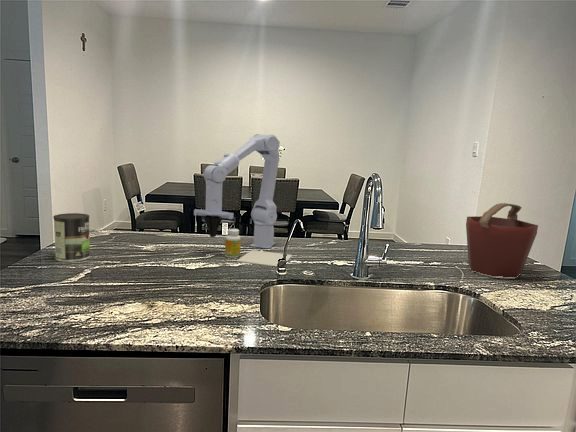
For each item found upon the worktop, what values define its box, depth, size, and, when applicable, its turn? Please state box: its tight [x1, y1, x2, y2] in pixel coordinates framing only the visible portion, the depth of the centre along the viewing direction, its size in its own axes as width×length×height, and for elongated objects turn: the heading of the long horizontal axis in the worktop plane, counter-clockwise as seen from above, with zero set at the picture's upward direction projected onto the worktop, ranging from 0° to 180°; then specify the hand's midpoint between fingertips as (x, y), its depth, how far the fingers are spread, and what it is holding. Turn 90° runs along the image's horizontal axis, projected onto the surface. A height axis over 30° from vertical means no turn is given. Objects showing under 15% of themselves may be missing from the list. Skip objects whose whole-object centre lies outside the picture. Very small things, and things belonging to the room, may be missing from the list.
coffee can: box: [52, 212, 91, 263], centre depth 135 cm, size 10×10×14 cm
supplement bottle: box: [224, 228, 242, 259], centre depth 148 cm, size 5×5×10 cm
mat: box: [236, 249, 294, 268], centre depth 148 cm, size 16×16×1 cm
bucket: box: [465, 202, 539, 277], centre depth 146 cm, size 24×22×25 cm
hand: (212, 236), depth 150 cm, fingers closed
